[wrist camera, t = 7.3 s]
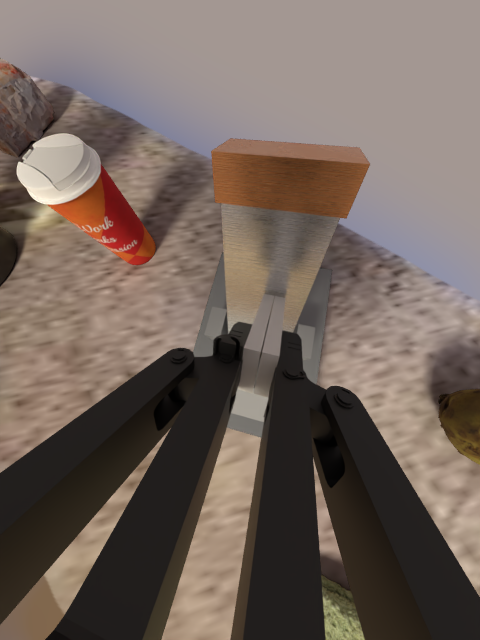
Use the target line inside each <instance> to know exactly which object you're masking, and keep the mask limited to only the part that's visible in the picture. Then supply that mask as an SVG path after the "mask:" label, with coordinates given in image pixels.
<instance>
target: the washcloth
mask: <svg viewBox="0 0 480 640" xmlns="http://www.w3.org/2000/svg"><path fill="white" fill-rule="evenodd" d="M321 580H322V594H323V608H324V622H325V636H326V640H365V639H364V635H363V632H362V628H361V625H360V621H359V618H358V614H357V611H356V607H355V604H354V600H353V596H352V593H351V591H350V590H349V591H348V590H345V588H342V587H341V586H340V585H339V584H337V583H335V582H332V581H330V580H328V579H327V578H326V577H325V576H323V575H321Z"/></svg>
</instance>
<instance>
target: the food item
mask: <svg viewBox="0 0 480 640" xmlns="http://www.w3.org/2000/svg"><path fill="white" fill-rule="evenodd" d="M52 114H54V111H53V107H52V105H51V104H50V103H49V102H48V101H47V99H46V98H45V96H44V95H43V93H42V92H41V91H40V89H39V88H38V87H37V86H36V84H35V83H34V81H33V80H32V79H31V77H30V76H28V75H27V74H26V73H25V72H22V71H21V70H20V69H19V68H17V67H15V66H13V65H12V64H10V63H9V62H7V61H5V60H3V59H1V58H0V150H1V151H2V152H3V153H6V154H10V155H13V156H15V157H18V156H19V155H20V154H21V152H22V151H23V150H24V149H26V148H27V147H28V146H29V144H30V143H31V141H38V140H39V139H41V136H42V135H43V130H44V129H45V128H46V127H47V126H48V125H49V124H50V123H51V121H52V120H53V115H52Z"/></svg>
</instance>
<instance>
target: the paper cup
mask: <svg viewBox="0 0 480 640" xmlns="http://www.w3.org/2000/svg"><path fill="white" fill-rule="evenodd" d="M32 146H33V147H34V149H33V150H31V149H29V150H28V152H27V153H26V154H25V155H24V157H23V159H24V161H23V162H22V163H21V162H18V165H17V176H18V178H19V180H20V182H21V183H22V184H23V185H24V186H25V187H26V188H27V191H28V192H29V194H30V196H31V197H32V198H33V199H34V200H36V201H37V202H40V203H42V204H47V205H48V206H49V207H51V208H52V209H54V210H55V211H56V212H58V213H59V214H61V215H62V216H63V217H65V218H66V219H67V220H69V221H70V222H72V223H73V224H74V225H76V226H77V227H79V228H80V229H81V230H83V231H84V232H85V233H87V234H88V235H90V236H91V237H92V238H94V239H95V240H97V241H98V242H99V243H101V244H102V245H104V246H105V247H106V248H108V249H109V250H110V251H112V252H113V253H115V254H116V255H118V256H119V257H120V258H122V259H123V260H125V261H126V262H128V263H130V264H132V265H141V264H144V263H146V262H148V261H149V260H150V259H151V258H152V257H153V255H154V253H155V250H156V245H155V242H154V240H153V239H152V237H151V236H150V234H149V233H148V231H147V230H146V228H145V227H144V225H143V224H142V222H141V221H140V219H139V218H138V217H137V215H136V214H135V212H134V211H133V209H132V208H131V206H130V205H129V204H128V202H127V201H126V199H125V198H124V196H123V195H122V193H121V192H120V191H119V189H118V188H117V186H116V185H115V183H114V182H113V180H112V179H111V178H110V176H109V175H108V173H107V172H106V170H105V169H104V167H103V166H102V165H101V161H100V157H99V155H98V154H97V152H96V151H95V150H94V149H93V148H91V147H90V146H88V145H86V144H85V143H84V142H83V141H82V140H81V139H80V138H78V137H76V136H74V135H72V134H66V133H60V134H54V135H50V136H47V137H45V138H43V139H41V140H39V141H37V142H36V143H34V144H33V145H32ZM25 163H26V164H25Z"/></svg>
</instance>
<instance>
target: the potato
mask: <svg viewBox="0 0 480 640" xmlns="http://www.w3.org/2000/svg"><path fill="white" fill-rule="evenodd" d="M439 397H440V399H439V401H438V403H439V404H441V405H440V408H439V417H438V418H439V420H440V422H441V427H442V428H443V429H444V431H445V433H446V435H447V437H448V439H449V440H450V442H451V443H452V444H453V445H454V447H455V448H456V449H457V450H458V452H459V453H461V454H462V455H464V456H466V457H467V458H469V459H471V460H472V461H474V462H476V463H478V464H479V465H480V389H471V390H462V391H457V392H454V393H452V394H445V395H440V396H439Z"/></svg>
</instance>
